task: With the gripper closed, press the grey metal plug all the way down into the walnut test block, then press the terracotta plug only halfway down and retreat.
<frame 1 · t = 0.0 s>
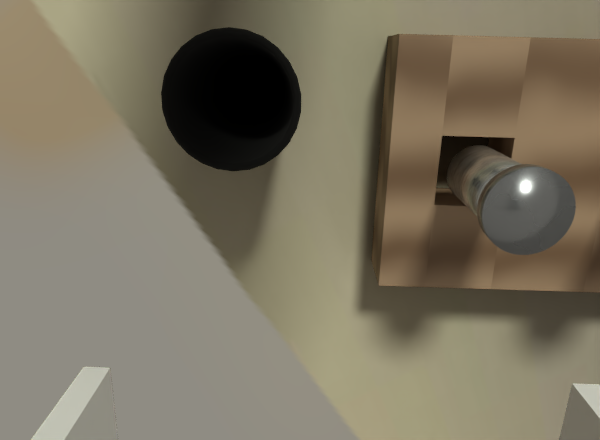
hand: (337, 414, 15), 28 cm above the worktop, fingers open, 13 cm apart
grey plug: (498, 190, 31), point 10 cm above the worktop, slide at 0.0 cm
cup: (254, 88, 39), on the worktop
test block: (529, 160, 40), on the worktop
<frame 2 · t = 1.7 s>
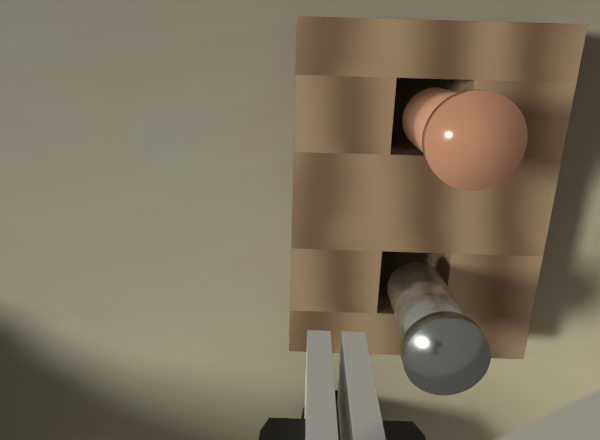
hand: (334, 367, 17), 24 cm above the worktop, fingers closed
terracotta plug: (451, 129, 28), point 10 cm above the worktop, slide at 0.0 cm
grey plug: (428, 318, 32), point 10 cm above the worktop, slide at 0.0 cm
test block: (408, 187, 40), on the worktop
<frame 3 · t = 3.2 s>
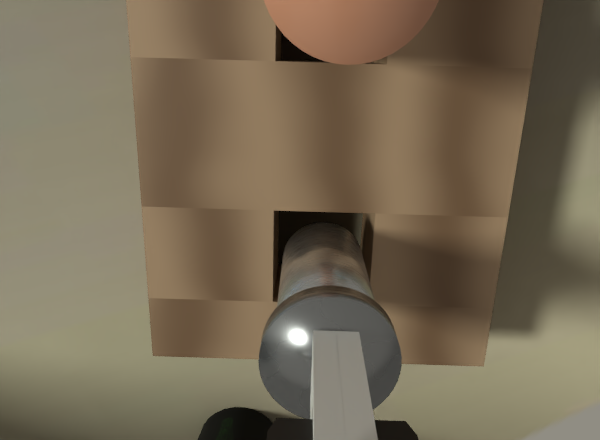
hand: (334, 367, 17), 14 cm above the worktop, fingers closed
grey plug: (325, 300, 21), point 10 cm above the worktop, slide at 0.5 cm, touching gripper
cup: (240, 438, 36), on the worktop
test block: (324, 126, 28), on the worktop
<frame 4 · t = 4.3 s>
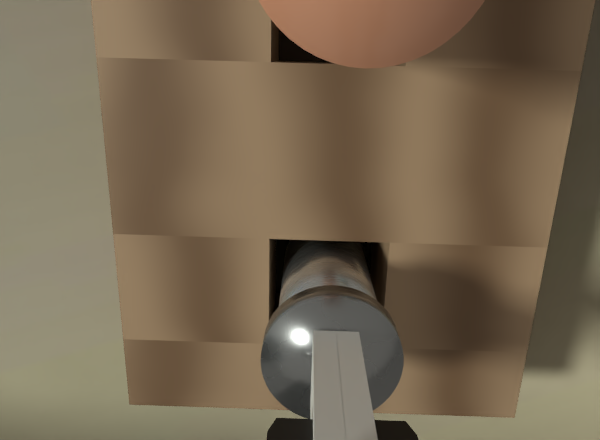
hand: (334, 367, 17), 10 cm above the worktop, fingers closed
grey plug: (327, 300, 21), point 6 cm above the worktop, slide at 4.5 cm, touching gripper
test block: (328, 137, 25), on the worktop
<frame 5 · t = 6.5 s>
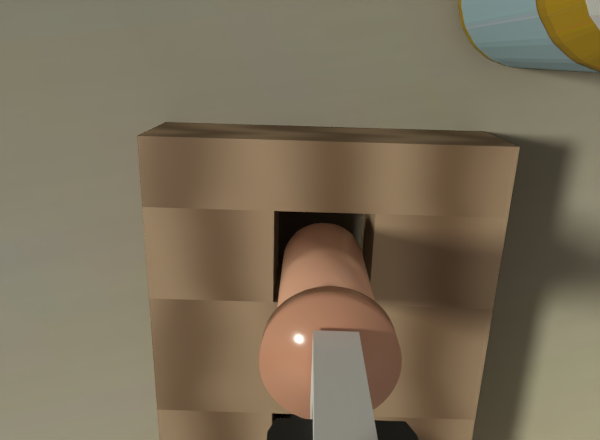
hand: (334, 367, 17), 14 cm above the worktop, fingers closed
terracotta plug: (325, 301, 21), point 10 cm above the worktop, slide at 0.4 cm, touching gripper
test block: (316, 316, 32), on the worktop
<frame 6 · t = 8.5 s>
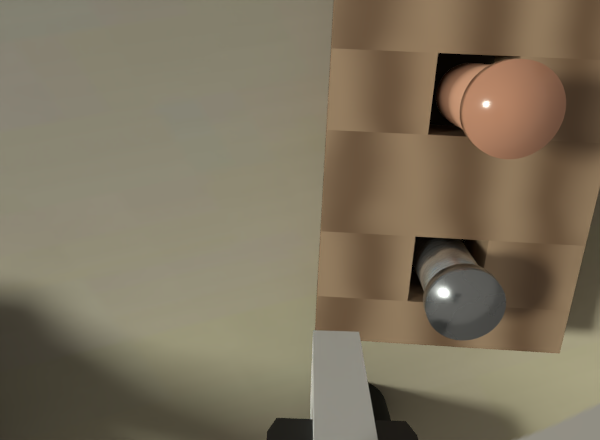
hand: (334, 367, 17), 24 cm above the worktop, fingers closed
terracotta plug: (487, 101, 29), point 8 cm above the worktop, slide at 2.1 cm
grey plug: (448, 274, 35), point 6 cm above the worktop, slide at 4.5 cm
cup: (354, 405, 46), on the worktop
test block: (443, 171, 38), on the worktop
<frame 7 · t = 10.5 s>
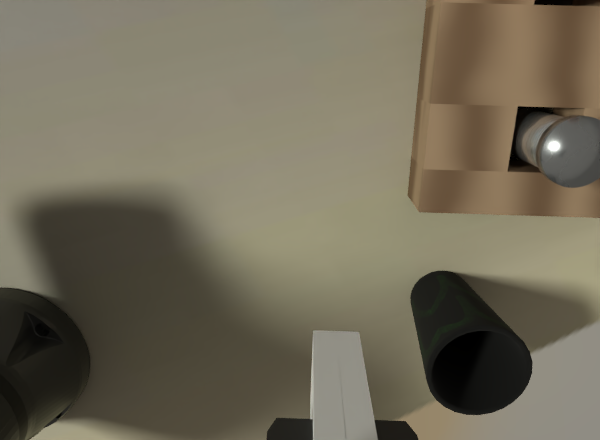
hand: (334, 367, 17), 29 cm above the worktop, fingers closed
grey plug: (548, 141, 38), point 6 cm above the worktop, slide at 4.5 cm
cup: (439, 296, 48), on the worktop
test block: (531, 57, 41), on the worktop
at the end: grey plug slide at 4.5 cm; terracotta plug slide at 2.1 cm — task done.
